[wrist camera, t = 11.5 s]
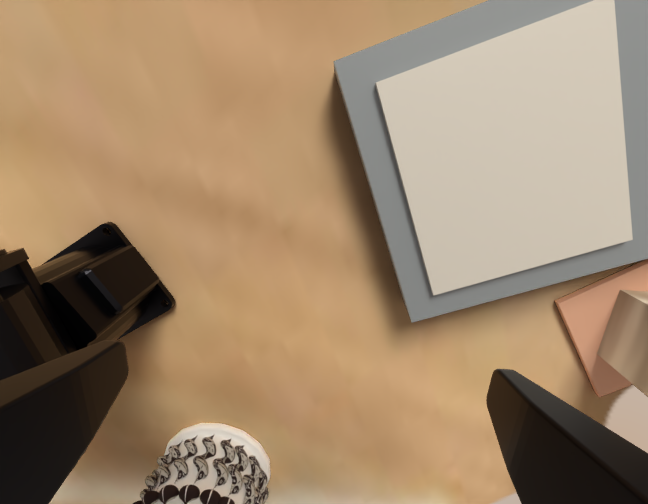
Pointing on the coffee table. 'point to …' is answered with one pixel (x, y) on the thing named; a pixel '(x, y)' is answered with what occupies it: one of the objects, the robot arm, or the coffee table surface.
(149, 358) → the coffee table surface
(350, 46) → the coffee table surface
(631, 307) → the block
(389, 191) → the puzzle board
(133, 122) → the coffee table surface
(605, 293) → the pad
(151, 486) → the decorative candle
